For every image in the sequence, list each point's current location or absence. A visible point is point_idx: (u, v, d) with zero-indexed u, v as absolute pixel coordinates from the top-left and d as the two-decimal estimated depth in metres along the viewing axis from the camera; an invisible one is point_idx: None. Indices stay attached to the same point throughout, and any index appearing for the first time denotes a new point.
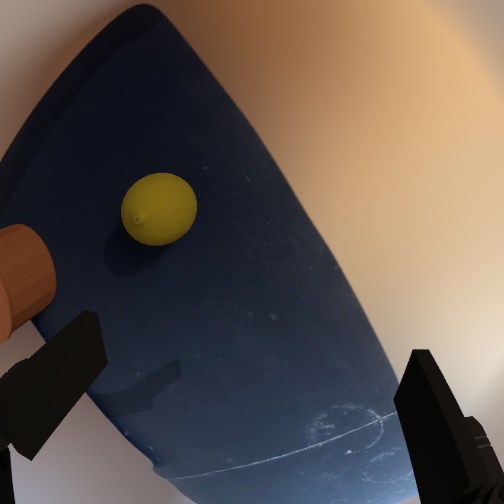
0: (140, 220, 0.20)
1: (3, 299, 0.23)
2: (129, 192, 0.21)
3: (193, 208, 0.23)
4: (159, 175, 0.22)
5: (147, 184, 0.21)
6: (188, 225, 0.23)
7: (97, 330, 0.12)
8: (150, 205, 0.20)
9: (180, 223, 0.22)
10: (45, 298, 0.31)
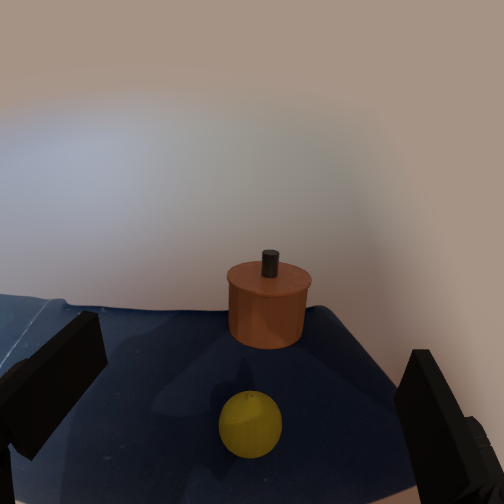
0: (249, 397, 0.23)
1: (254, 289, 0.41)
2: (275, 404, 0.24)
3: (236, 446, 0.22)
4: (277, 433, 0.23)
5: (274, 417, 0.23)
6: (224, 436, 0.23)
7: (97, 330, 0.12)
8: (257, 409, 0.23)
9: (230, 427, 0.23)
10: (235, 327, 0.45)
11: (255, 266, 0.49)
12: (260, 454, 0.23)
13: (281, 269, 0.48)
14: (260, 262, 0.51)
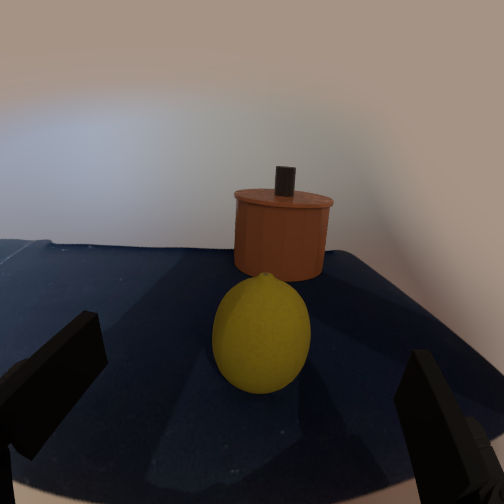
0: (262, 276, 0.16)
1: (266, 200, 0.34)
2: None
3: (238, 363, 0.15)
4: (304, 342, 0.16)
5: (300, 311, 0.16)
6: (220, 346, 0.16)
7: (97, 329, 0.12)
8: (274, 294, 0.16)
9: (229, 326, 0.15)
10: (242, 254, 0.37)
11: (267, 190, 0.42)
12: (276, 382, 0.16)
13: (297, 193, 0.41)
14: (273, 189, 0.43)
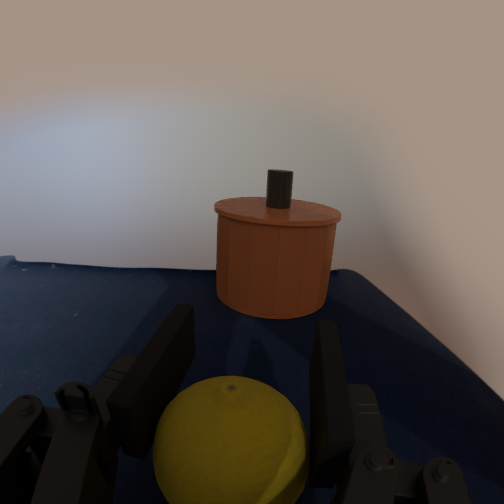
0: (225, 392, 0.08)
1: (254, 215, 0.25)
2: (296, 412, 0.09)
3: None
4: (298, 486, 0.08)
5: (294, 449, 0.08)
6: (161, 486, 0.08)
7: (191, 322, 0.14)
8: (245, 429, 0.07)
9: (168, 470, 0.07)
10: (224, 283, 0.29)
11: (257, 199, 0.34)
12: None
13: (295, 203, 0.33)
14: (265, 198, 0.35)
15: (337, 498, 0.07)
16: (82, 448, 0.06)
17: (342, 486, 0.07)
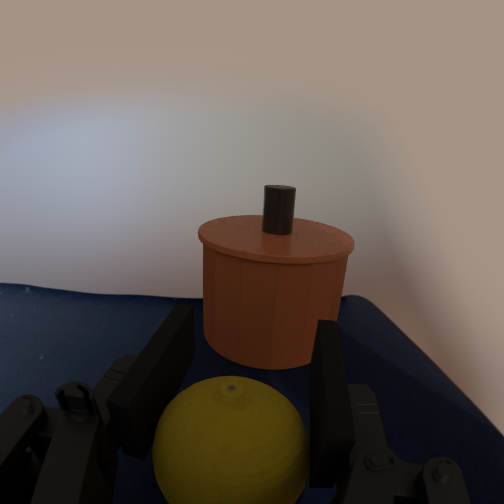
0: (225, 392, 0.08)
1: (245, 249, 0.20)
2: (296, 412, 0.09)
3: None
4: (298, 486, 0.08)
5: (294, 449, 0.08)
6: (161, 486, 0.08)
7: (191, 322, 0.14)
8: (245, 429, 0.07)
9: (168, 469, 0.07)
10: (210, 325, 0.24)
11: (253, 219, 0.28)
12: None
13: (298, 225, 0.27)
14: (262, 216, 0.30)
15: (337, 498, 0.07)
16: (82, 448, 0.06)
17: (342, 486, 0.07)
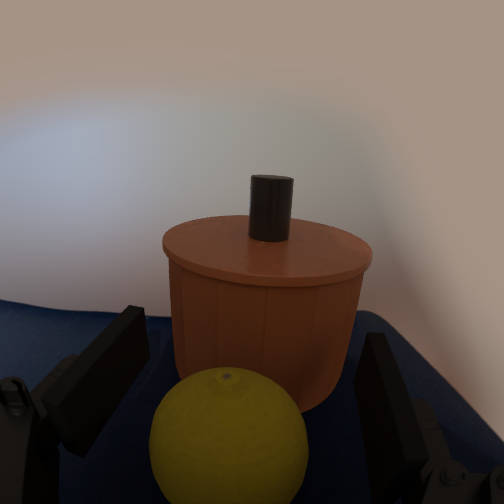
0: (220, 381, 0.08)
1: (220, 265, 0.14)
2: (293, 403, 0.09)
3: None
4: (296, 478, 0.08)
5: (291, 440, 0.08)
6: (157, 479, 0.08)
7: (142, 324, 0.13)
8: (240, 417, 0.07)
9: (164, 461, 0.07)
10: (182, 360, 0.18)
11: (238, 221, 0.22)
12: None
13: (296, 228, 0.21)
14: None
15: None
16: (21, 438, 0.05)
17: (411, 499, 0.06)
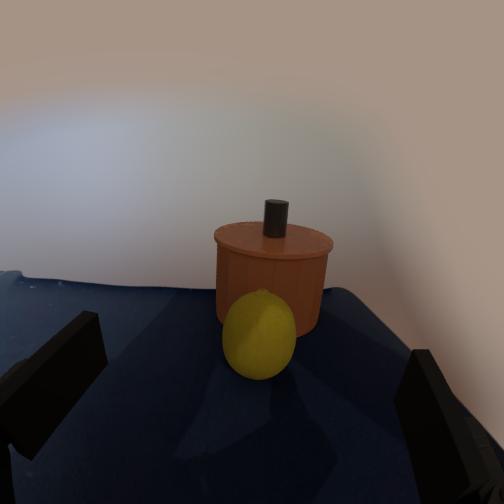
0: (260, 291, 0.22)
1: (251, 248, 0.28)
2: (288, 306, 0.23)
3: (243, 355, 0.21)
4: (291, 340, 0.22)
5: (288, 317, 0.22)
6: (229, 343, 0.22)
7: (97, 330, 0.12)
8: (268, 304, 0.21)
9: (236, 328, 0.21)
10: (223, 307, 0.31)
11: (255, 225, 0.36)
12: (271, 370, 0.21)
13: (290, 230, 0.35)
14: (262, 222, 0.37)
15: None
16: None
17: None
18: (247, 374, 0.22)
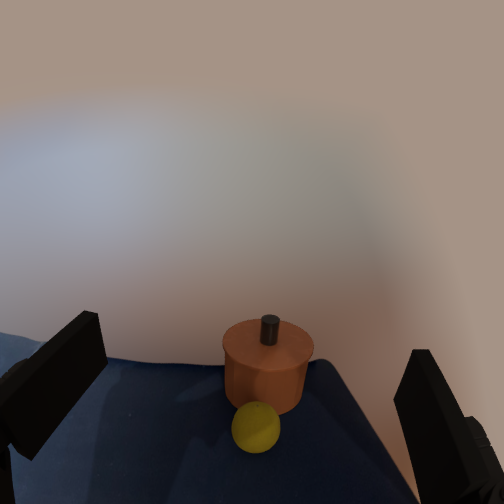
0: (256, 407, 0.31)
1: (250, 363, 0.36)
2: (275, 411, 0.32)
3: (245, 443, 0.30)
4: (276, 433, 0.30)
5: (274, 422, 0.30)
6: (236, 436, 0.30)
7: (97, 330, 0.12)
8: (261, 416, 0.30)
9: (240, 429, 0.30)
10: (230, 392, 0.40)
11: (254, 326, 0.45)
12: (263, 450, 0.30)
13: (282, 332, 0.44)
14: (259, 321, 0.46)
15: None
16: None
17: None
18: (248, 451, 0.30)
